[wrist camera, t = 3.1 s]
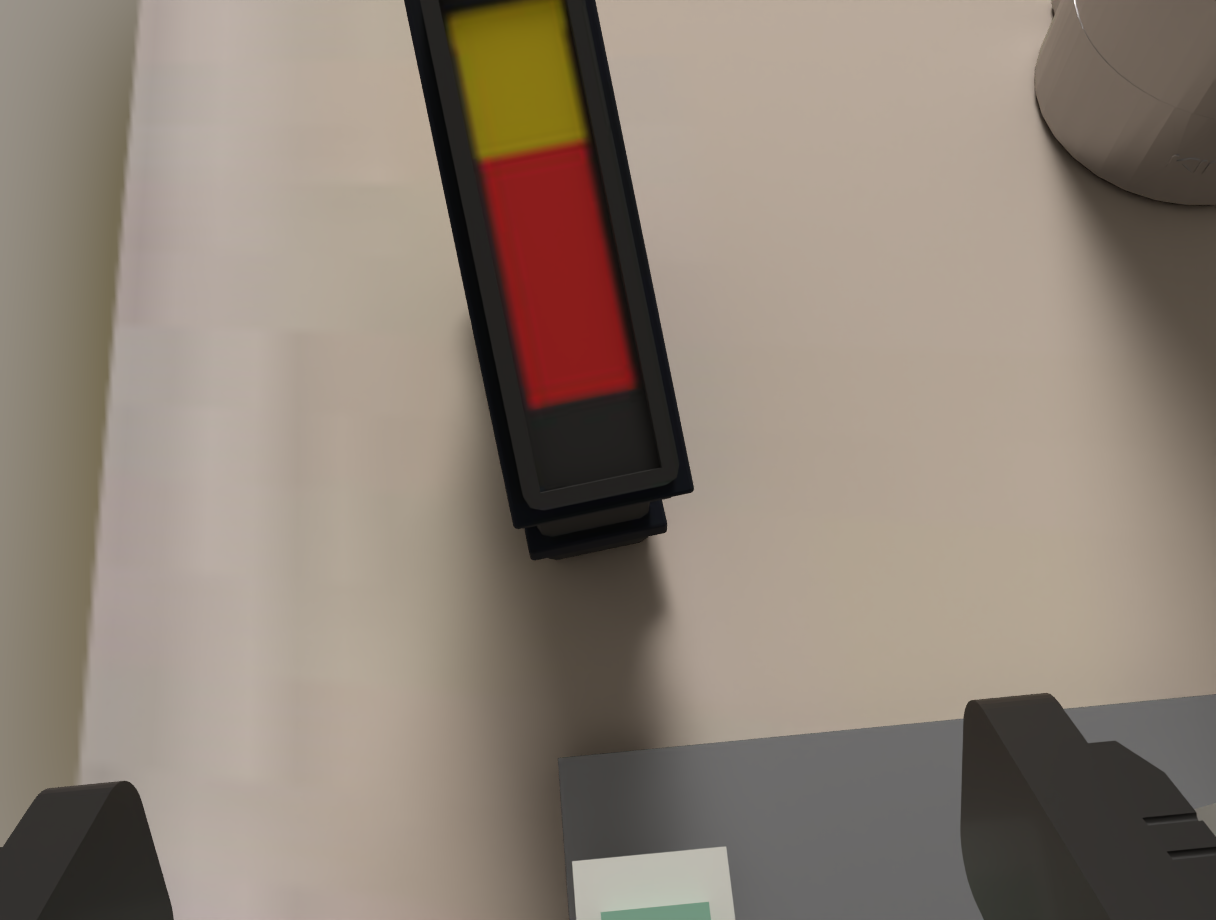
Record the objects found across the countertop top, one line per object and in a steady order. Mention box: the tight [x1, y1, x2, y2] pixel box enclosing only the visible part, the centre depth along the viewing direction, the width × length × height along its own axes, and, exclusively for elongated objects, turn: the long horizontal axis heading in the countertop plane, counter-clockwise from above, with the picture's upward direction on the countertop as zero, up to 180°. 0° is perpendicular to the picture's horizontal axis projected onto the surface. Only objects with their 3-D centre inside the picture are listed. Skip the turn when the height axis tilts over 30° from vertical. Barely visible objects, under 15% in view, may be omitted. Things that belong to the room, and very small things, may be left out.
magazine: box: [404, 0, 694, 560], centre depth 30 cm, size 4×13×15 cm, turn 12°
